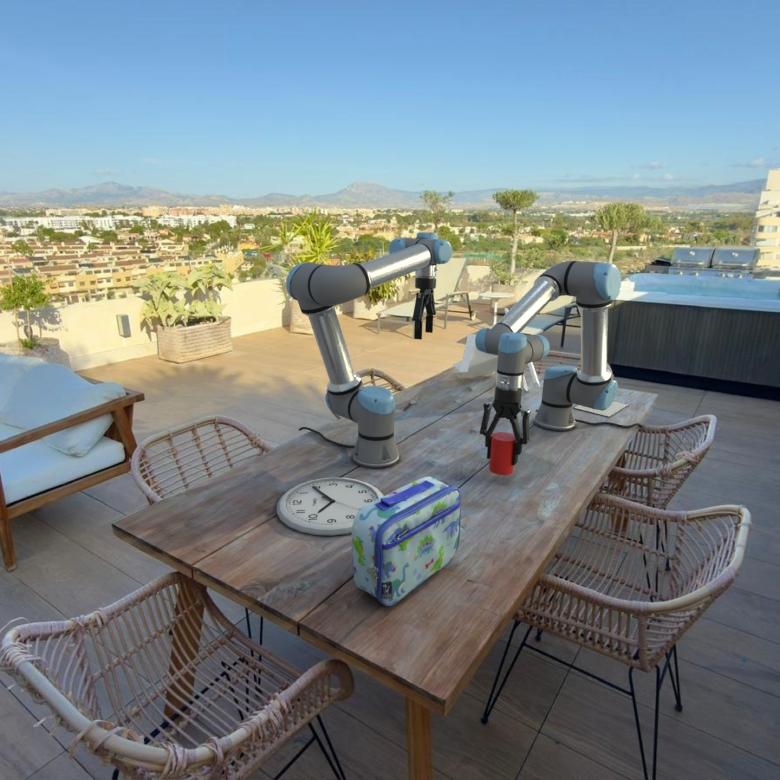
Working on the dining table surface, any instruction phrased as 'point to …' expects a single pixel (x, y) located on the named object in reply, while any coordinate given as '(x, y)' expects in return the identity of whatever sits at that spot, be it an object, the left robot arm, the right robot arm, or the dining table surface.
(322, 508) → the wall clock
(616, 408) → the invitation card
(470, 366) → the white plastic object
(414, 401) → the fork
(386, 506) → the lunch box
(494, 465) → the canister
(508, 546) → the dining table surface
